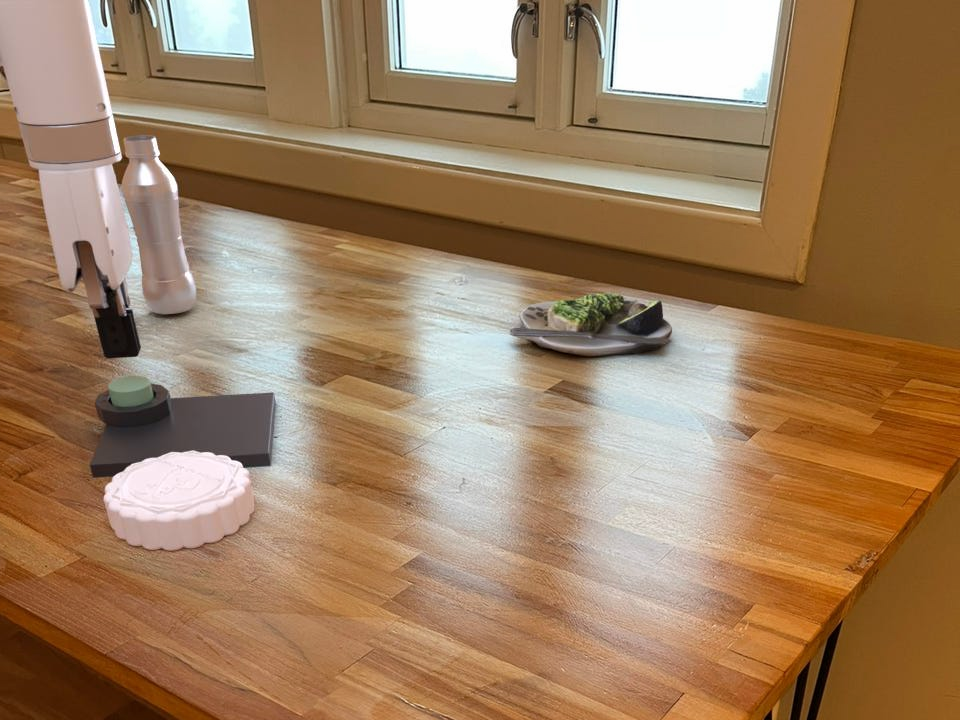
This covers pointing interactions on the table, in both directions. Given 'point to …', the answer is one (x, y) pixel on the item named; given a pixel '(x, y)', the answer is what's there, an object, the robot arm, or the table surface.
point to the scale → (184, 429)
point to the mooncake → (179, 500)
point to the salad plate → (595, 325)
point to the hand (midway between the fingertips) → (123, 354)
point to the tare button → (130, 391)
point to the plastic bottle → (157, 228)
